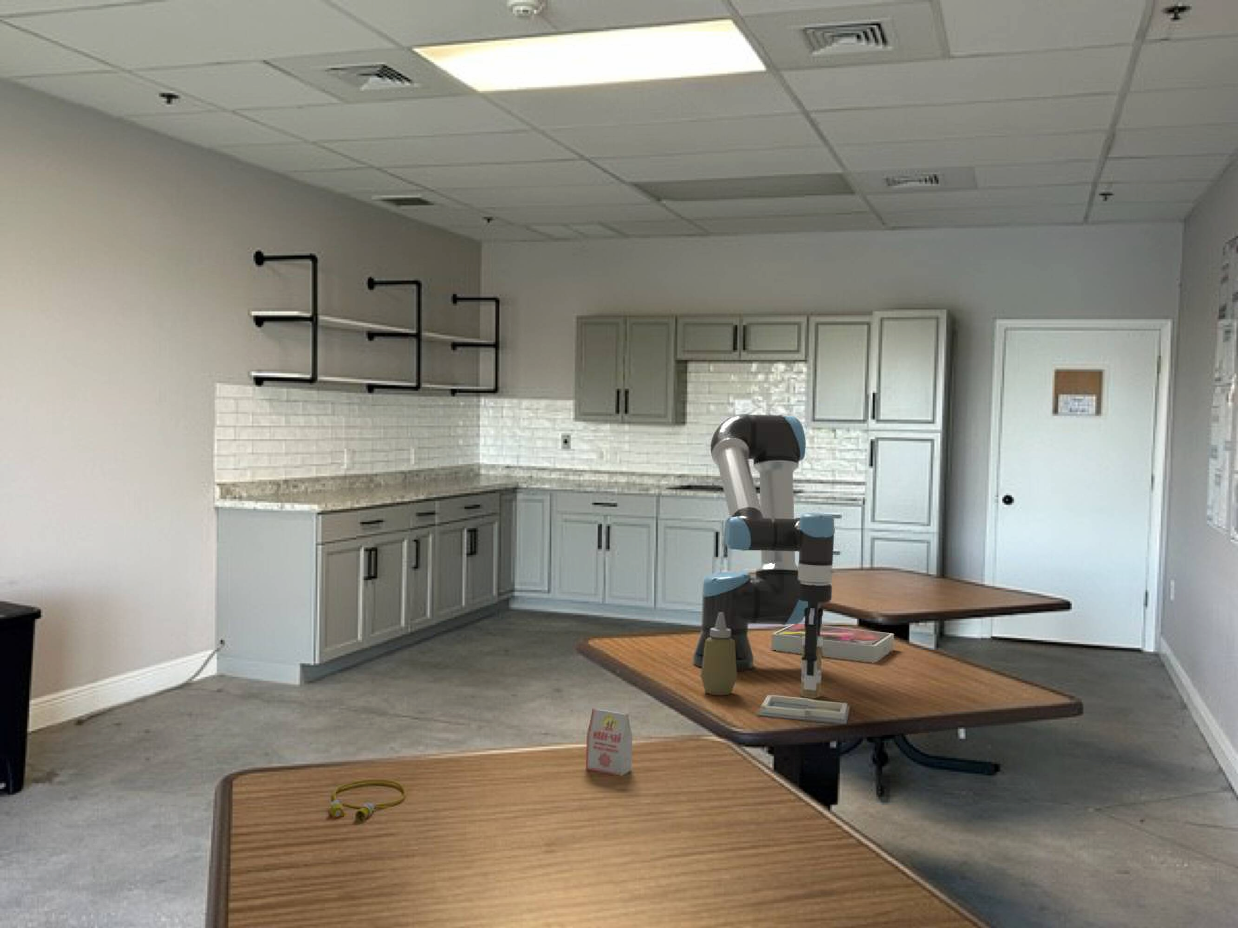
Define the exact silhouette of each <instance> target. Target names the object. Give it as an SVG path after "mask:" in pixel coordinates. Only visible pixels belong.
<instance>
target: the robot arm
mask: <svg viewBox="0 0 1238 928" xmlns="http://www.w3.org/2000/svg"><path fill="white" fill-rule="evenodd" d="M805 434H806V433H805V430H804V427H803V424H802V422H801V421H800V420H799V419H798V418H797V417H794V416H790V415H789V416H788V415H782V414H780V415H777V414H776V415H775V414H774V415H772V414H747V413H744V414H743V413H741V414H735V415H733V416H730V417H729V418H727V419H725V421H723V422H722V423H720V425H719V426H718V427H717V428H716V429H715V432H714V433H713V435H712V438H711V442H710V454H711V458H712V461H713V462H714V464H715V465H716V466H718V467H717V468H718V471H719V476H720V481H721V484H722V487H723V492H724V497H725V500H726V506H727V510H728V513H729V517H728V518H726V520H725V524H724V531H723V532H724V534H723V535H724V543H725V546H726V547H727V548H728V549H729V550H737V551H745V552H746V551H760V555H761V556H760V558H761V560H760V565H759V567H758V568H756V570H755V577H751V574H750V572H748V571H745V570H738V571H737V570H731V571H730V570H729V571H720V572H714V573H712V574H709V575H707V576H706V577H705V578H704V580H703V585H702V592H701V596H702V601H701V602H702V603H701V604H702V605H701V606H702V607H701V632H700V636H699V639H698V641H697V644H696V646H695V649H694V652H693V657H692V658H693V660H692V663H693V665H695V666H696V667H700V668H702V663H703V656H704V649H705V641H706V639H708V638H709V637H711V636H710V629H711V628H715V625H716V621H717V617H718V613H724V617H725V623H726V628H728V629H730V630H731V637H729V638H731V639H733V640H734V641H735V655H736V671H737V672H738V671H745V670H750V669H752V668H753V667H754V663H755V661H754V659H755V658H754V655H753V651H752V647H751V643H750V640H749V635H748V631H749V630H748V629H749V625H751V624H752V625H753V624H755V625H782V626H786V625H792V624H798V623H801V622H802V621H803V620H804V624H805V653H804V657H801V661H802V660H805V664H804V689H807V690H816V681H817V640H818V636H820V629H821V626H823V616H824V608H823V607H821V603H829V602H831V601H832V597H833V595H832V593H833V586H832V584H830V583H832V582H833V574H835V573H836V569H834V568H833V564H834V562H833V561H834V545H835V544H834V542H835V533H836V529H835V518H834V516H833V515H831V514H827V513H819V512H807V513H802V514H801V516H800V517H796V518H795V507H794V505H795V500H794V499H795V498H794V497H795V496H794V472H795V470H797V469H798V468H799V465H800V464H799V463H800V461H803V460H804V458H805V455H806V447H807V444H806V443H807V441H806V435H805ZM748 460H753V468H754V469H755V470H756V471H757V472H758V473H759V497H758V494H757V489H756V486H755V482H754V478H753V475H752V471H751V467H750V464H749V461H748ZM759 501H760V502H759ZM796 552H798V564H796Z"/></svg>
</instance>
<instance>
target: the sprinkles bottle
mask: <svg viewBox="0 0 1238 928" xmlns="http://www.w3.org/2000/svg"><path fill="white" fill-rule="evenodd" d="M802 645H803V654H802V657H804V653H805V636H803V638H802ZM822 646H823V638H822V637H820V636H818V640H817V681H816V690H807V689H804V664H805V660H802V659H801V679H800V681H801V690H800V691H801V692H800V696H801V697H802V698H808V699H819V698H820V697H821V696H822V694H821V693H822V692H821V689H822V688H821V685H822V665H823V664H822V663H823V662H822V658H823V657H822ZM802 657H801V658H802Z"/></svg>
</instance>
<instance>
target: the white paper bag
mask: <svg viewBox="0 0 1238 928" xmlns="http://www.w3.org/2000/svg"><path fill="white" fill-rule="evenodd" d="M629 717H630V715H629V714H628V713H627V714H626V713H622V712H617V711H611V710H605V709H600V708H599V709H597V708H592V709H591V715H590V719H589V725H588V729H587V733H586V749H585V750H586V751H585V752H586V753H585V770H589V771H594V772H599V773H603V774H608V775H613V776H618V777H622V776H624V775H626V774H628V773H629V772H631V771H632V758H633V757H632V752H633V750H632V749H633V734H632V729H631V725H630V719H629Z"/></svg>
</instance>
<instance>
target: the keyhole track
mask: <svg viewBox="0 0 1238 928" xmlns="http://www.w3.org/2000/svg"><path fill="white" fill-rule="evenodd" d="M850 710H851V705H848V703H847V702H837V701H836V702H835V701H828V700H827V701H826V700H816V699H815V698H806V697H795V696H787V695H785V696H784V695H776V694H775V695H774V694H767V696H766V697H765V699H764V701H763V702H762V704H761V705H760V708H759V710H758V712H757V714H756V716H757V717H766V718H776V719H786V720H793V721H794V720H795V721H796V720H797V721H806V722H814V723H815V722H816V723H824V724H836V725H842V726H843V725H847V722H848V717H849V715H850V714H849V713H850Z"/></svg>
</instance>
